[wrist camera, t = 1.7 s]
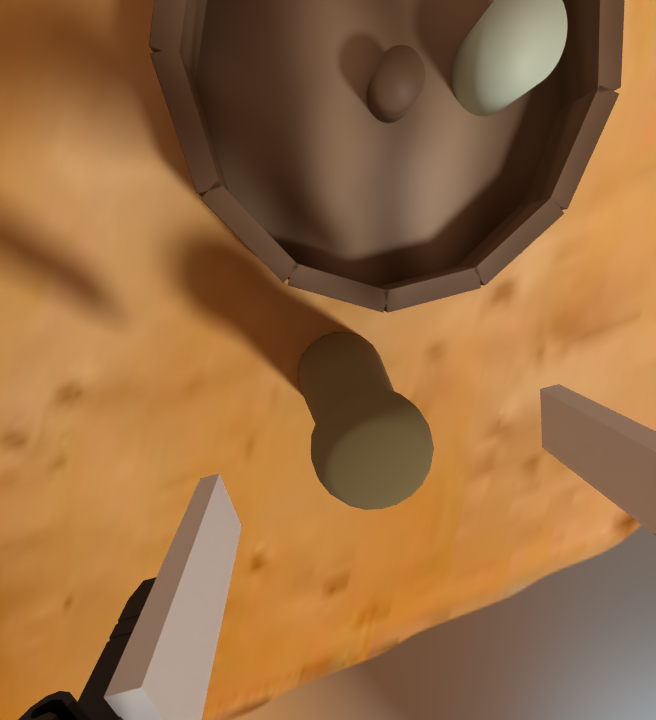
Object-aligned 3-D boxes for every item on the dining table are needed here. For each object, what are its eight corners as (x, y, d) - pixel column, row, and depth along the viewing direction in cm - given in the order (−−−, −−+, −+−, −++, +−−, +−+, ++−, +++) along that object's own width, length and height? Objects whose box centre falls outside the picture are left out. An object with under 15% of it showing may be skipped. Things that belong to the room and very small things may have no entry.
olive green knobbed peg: (291, 338, 22) (291, 412, 11) (380, 326, 22) (458, 388, 12) (303, 418, 23) (312, 546, 13) (384, 406, 24) (456, 521, 13)
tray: (254, 338, 21) (247, 353, 18) (101, -125, 14) (46, -236, 11) (569, 255, 22) (617, 255, 19) (568, -229, 15) (644, -363, 12)
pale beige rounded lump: (455, 124, 18) (486, 98, 15) (446, 34, 17) (478, -12, 14) (524, 107, 18) (567, 78, 15) (520, 17, 17) (567, -33, 14)
